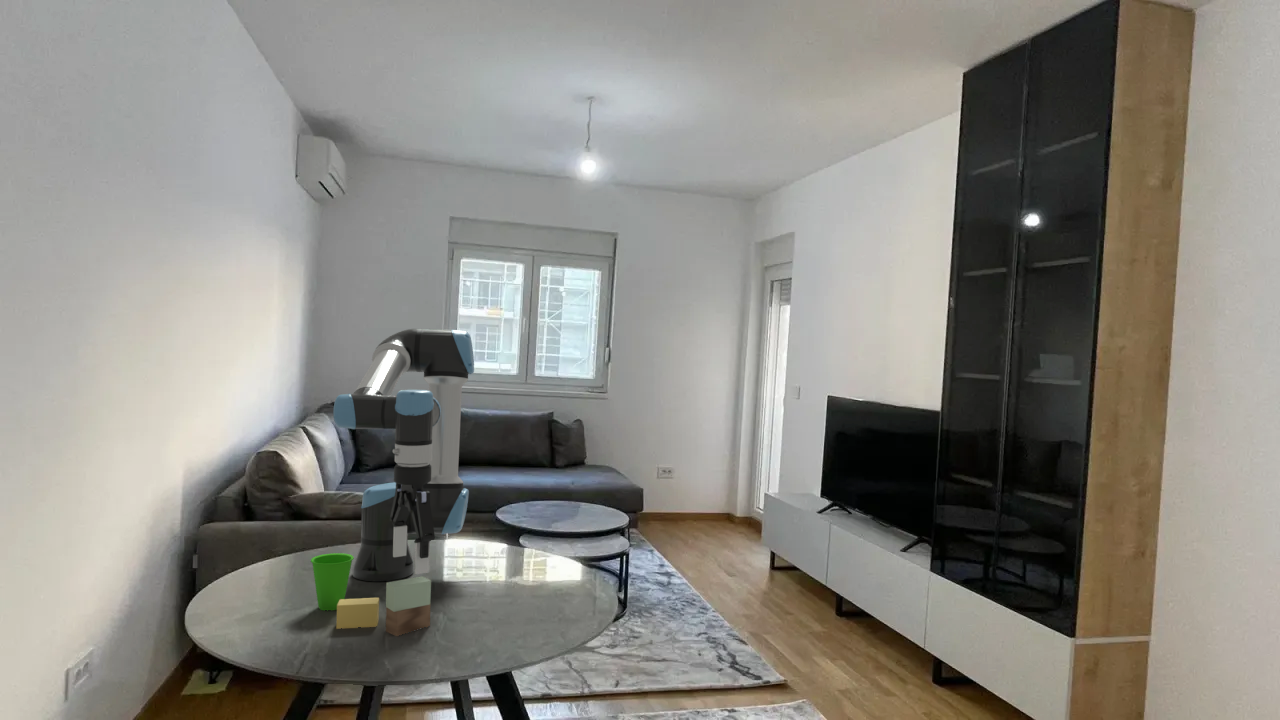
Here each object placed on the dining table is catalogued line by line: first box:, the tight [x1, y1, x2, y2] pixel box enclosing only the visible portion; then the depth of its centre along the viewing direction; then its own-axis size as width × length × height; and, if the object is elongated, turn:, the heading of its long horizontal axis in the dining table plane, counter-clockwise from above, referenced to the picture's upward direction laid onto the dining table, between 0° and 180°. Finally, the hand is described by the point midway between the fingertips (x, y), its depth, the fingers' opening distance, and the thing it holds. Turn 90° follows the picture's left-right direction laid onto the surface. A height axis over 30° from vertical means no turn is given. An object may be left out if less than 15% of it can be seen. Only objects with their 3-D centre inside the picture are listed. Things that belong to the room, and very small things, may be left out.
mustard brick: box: [335, 597, 380, 630], centre depth 160 cm, size 8×4×5 cm, turn 104°
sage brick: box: [385, 575, 432, 612], centre depth 158 cm, size 8×4×5 cm, turn 132°
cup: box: [310, 552, 355, 612], centre depth 170 cm, size 9×9×11 cm
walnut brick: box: [385, 602, 432, 637], centre depth 158 cm, size 8×4×5 cm, turn 141°
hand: (410, 564), depth 158 cm, fingers open, 13 cm apart
